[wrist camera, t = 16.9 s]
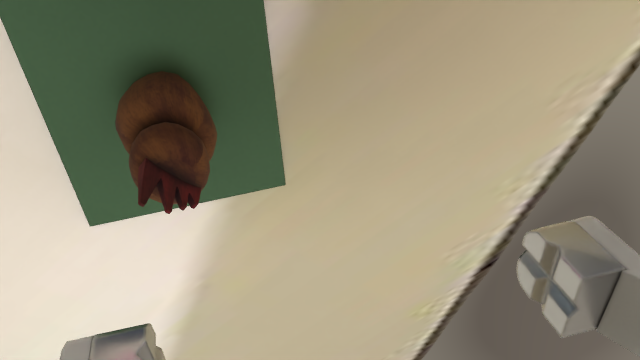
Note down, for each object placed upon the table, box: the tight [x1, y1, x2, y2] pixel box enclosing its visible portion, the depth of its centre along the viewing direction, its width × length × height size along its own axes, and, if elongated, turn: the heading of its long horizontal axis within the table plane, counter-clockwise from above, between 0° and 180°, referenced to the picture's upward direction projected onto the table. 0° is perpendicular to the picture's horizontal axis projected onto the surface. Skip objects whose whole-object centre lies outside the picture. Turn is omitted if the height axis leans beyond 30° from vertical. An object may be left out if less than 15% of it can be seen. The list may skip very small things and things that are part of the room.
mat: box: [0, 0, 285, 226], centre depth 37 cm, size 17×20×1 cm
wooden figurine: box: [115, 71, 217, 214], centre depth 31 cm, size 7×6×15 cm
